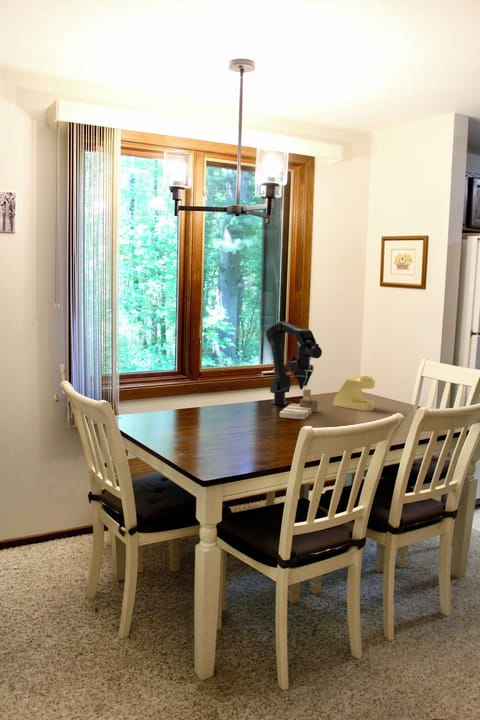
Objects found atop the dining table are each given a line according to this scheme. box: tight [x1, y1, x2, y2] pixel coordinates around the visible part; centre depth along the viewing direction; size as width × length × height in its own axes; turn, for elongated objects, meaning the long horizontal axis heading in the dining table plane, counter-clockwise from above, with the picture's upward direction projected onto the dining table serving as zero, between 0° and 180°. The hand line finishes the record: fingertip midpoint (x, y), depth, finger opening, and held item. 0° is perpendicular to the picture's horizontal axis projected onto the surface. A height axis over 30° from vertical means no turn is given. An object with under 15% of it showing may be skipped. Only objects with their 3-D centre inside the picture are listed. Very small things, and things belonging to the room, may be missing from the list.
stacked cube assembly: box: [299, 389, 318, 413], centre depth 325 cm, size 5×8×10 cm, turn 70°
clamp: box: [332, 375, 375, 411], centre depth 336 cm, size 20×9×16 cm, turn 48°
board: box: [279, 403, 313, 420], centre depth 321 cm, size 20×12×3 cm, turn 160°
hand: (303, 387), depth 323 cm, fingers open, 9 cm apart
